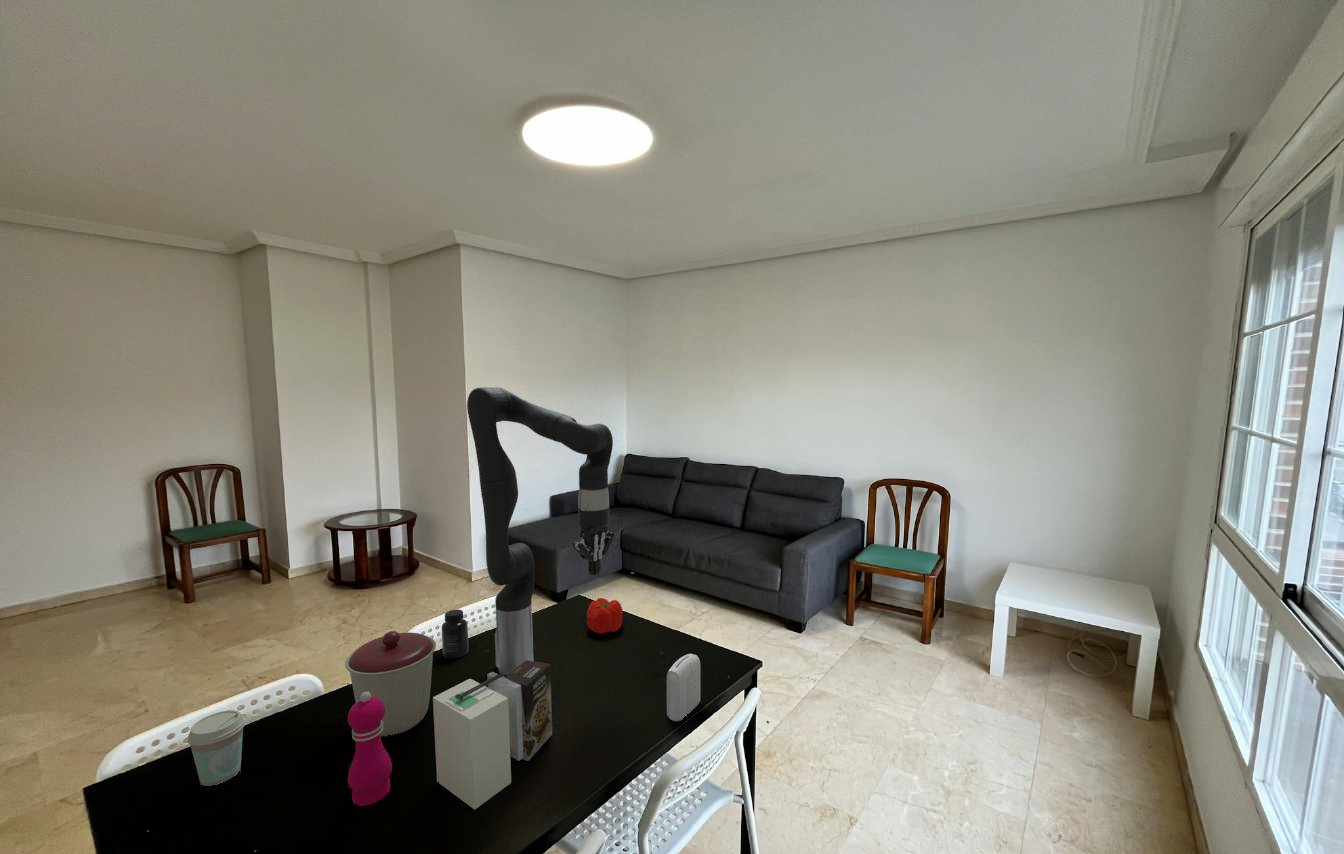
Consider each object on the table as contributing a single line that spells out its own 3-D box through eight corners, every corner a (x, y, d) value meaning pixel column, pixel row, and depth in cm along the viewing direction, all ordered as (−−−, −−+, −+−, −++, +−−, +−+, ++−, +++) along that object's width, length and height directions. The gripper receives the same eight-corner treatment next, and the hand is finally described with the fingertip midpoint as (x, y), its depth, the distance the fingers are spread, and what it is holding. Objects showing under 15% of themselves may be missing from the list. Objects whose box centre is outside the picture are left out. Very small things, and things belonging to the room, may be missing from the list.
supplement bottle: (474, 650, 156) (472, 609, 155) (455, 661, 150) (453, 619, 149) (456, 645, 159) (454, 605, 158) (437, 656, 153) (435, 615, 152)
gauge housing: (437, 781, 105) (432, 695, 104) (473, 757, 112) (469, 676, 110) (474, 809, 98) (470, 717, 97) (511, 782, 105) (507, 695, 103)
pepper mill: (360, 781, 105) (354, 682, 104) (399, 779, 106) (394, 680, 104) (341, 811, 98) (334, 705, 97) (383, 808, 99) (377, 702, 97)
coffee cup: (202, 803, 100) (196, 741, 99) (184, 785, 105) (179, 726, 104) (256, 774, 108) (252, 716, 107) (238, 759, 112) (233, 703, 111)
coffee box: (529, 761, 110) (526, 685, 109) (502, 754, 113) (499, 679, 111) (553, 734, 119) (551, 663, 118) (528, 728, 121) (526, 658, 120)
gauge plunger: (447, 770, 105) (443, 688, 104) (495, 740, 114) (492, 664, 113) (475, 790, 100) (472, 704, 99) (523, 757, 109) (520, 678, 107)
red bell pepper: (579, 633, 166) (578, 604, 166) (604, 618, 176) (603, 591, 176) (607, 642, 161) (606, 612, 160) (631, 626, 171) (630, 598, 170)
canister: (453, 720, 124) (448, 630, 123) (366, 761, 111) (360, 661, 109) (419, 690, 137) (415, 608, 135) (338, 723, 124) (332, 633, 122)
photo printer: (687, 696, 133) (687, 647, 132) (703, 701, 131) (702, 651, 129) (664, 718, 124) (663, 666, 123) (680, 724, 122) (679, 671, 121)
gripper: (600, 498, 142) (601, 563, 143) (563, 508, 131) (564, 578, 133) (623, 502, 138) (623, 569, 139) (586, 513, 127) (586, 585, 128)
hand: (594, 573), depth 136 cm, fingers closed
